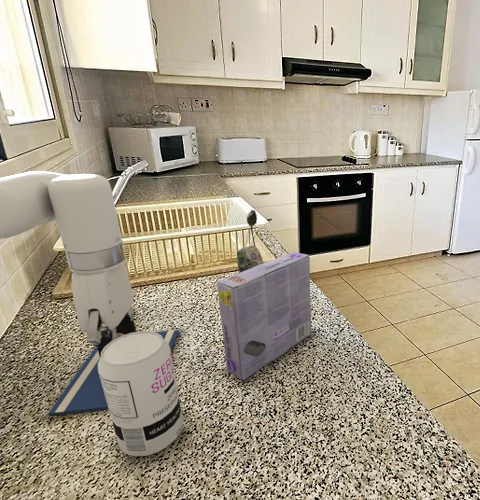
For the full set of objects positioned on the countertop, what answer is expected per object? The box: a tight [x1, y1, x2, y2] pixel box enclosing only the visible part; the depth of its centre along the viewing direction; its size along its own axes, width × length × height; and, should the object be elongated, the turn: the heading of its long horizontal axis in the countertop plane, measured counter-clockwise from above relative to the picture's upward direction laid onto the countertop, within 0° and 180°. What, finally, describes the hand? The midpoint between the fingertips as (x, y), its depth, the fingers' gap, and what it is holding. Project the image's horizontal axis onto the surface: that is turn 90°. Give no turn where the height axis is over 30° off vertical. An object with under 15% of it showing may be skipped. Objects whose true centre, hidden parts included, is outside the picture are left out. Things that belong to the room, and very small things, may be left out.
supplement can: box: [98, 330, 184, 457], centre depth 50 cm, size 8×8×15 cm
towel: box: [47, 329, 180, 417], centre depth 66 cm, size 14×20×1 cm
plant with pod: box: [236, 209, 264, 273], centre depth 91 cm, size 8×11×20 cm
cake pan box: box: [216, 251, 312, 382], centre depth 68 cm, size 19×5×18 cm, turn 145°
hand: (120, 350), depth 65 cm, fingers closed on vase, 5 cm apart
